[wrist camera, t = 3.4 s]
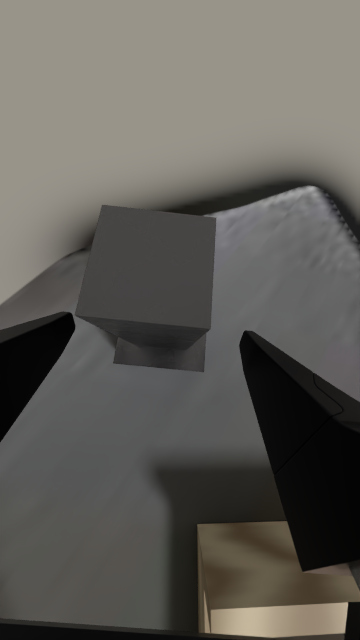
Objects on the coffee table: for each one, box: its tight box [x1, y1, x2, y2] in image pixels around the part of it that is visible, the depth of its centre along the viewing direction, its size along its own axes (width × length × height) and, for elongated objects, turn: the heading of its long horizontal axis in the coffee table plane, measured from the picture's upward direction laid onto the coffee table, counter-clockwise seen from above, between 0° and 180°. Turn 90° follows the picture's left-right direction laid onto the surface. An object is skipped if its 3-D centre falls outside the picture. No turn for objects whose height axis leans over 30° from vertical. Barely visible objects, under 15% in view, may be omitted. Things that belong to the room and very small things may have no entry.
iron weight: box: [75, 205, 216, 372], centre depth 12 cm, size 7×7×13 cm
